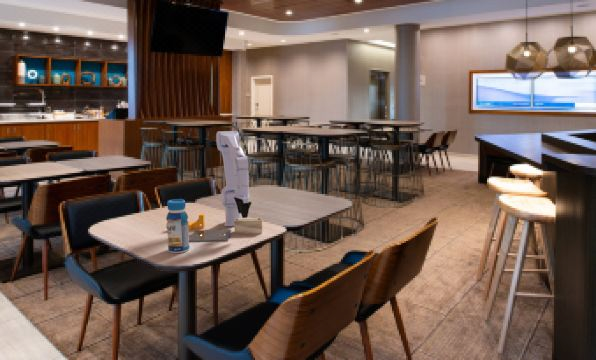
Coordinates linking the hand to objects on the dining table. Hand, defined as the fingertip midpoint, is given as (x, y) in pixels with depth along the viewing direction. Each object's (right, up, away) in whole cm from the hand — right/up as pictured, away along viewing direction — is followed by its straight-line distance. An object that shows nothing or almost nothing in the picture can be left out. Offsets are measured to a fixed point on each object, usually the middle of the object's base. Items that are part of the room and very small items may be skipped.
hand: (242, 215), depth 193 cm
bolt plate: (-14, -9, 0) cm, 16 cm away
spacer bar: (+2, -8, +5) cm, 10 cm away
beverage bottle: (-23, -13, -17) cm, 31 cm away
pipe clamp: (-25, -7, +11) cm, 29 cm away
